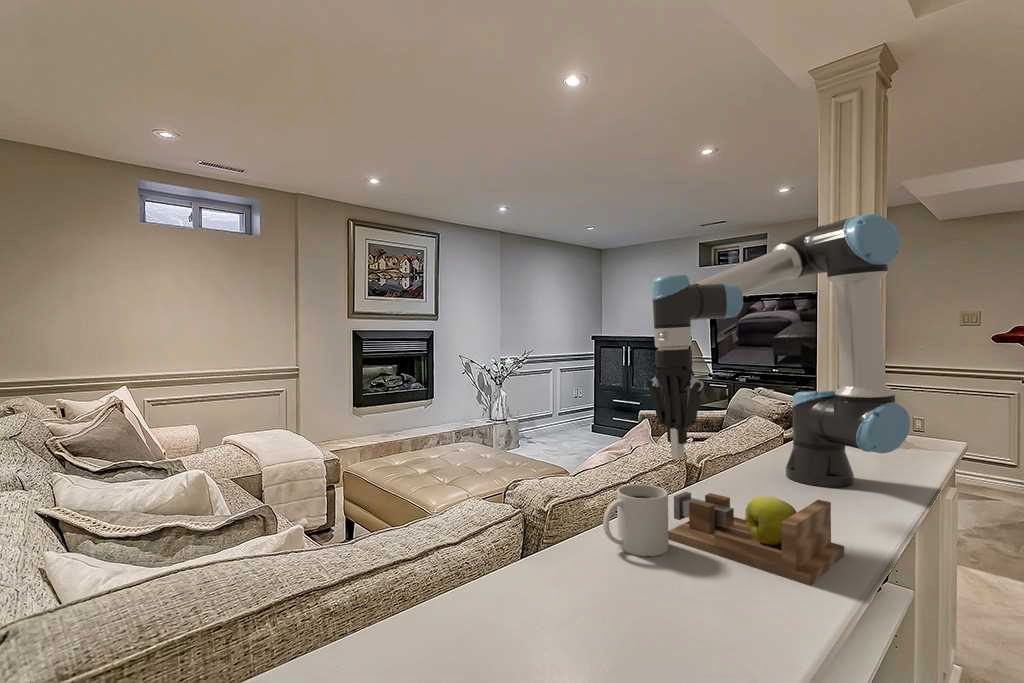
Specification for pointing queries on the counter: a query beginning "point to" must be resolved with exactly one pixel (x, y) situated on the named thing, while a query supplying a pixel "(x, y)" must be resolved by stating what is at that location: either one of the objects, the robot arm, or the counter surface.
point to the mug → (640, 520)
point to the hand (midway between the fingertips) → (678, 458)
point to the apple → (767, 518)
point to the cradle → (795, 558)
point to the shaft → (722, 513)
